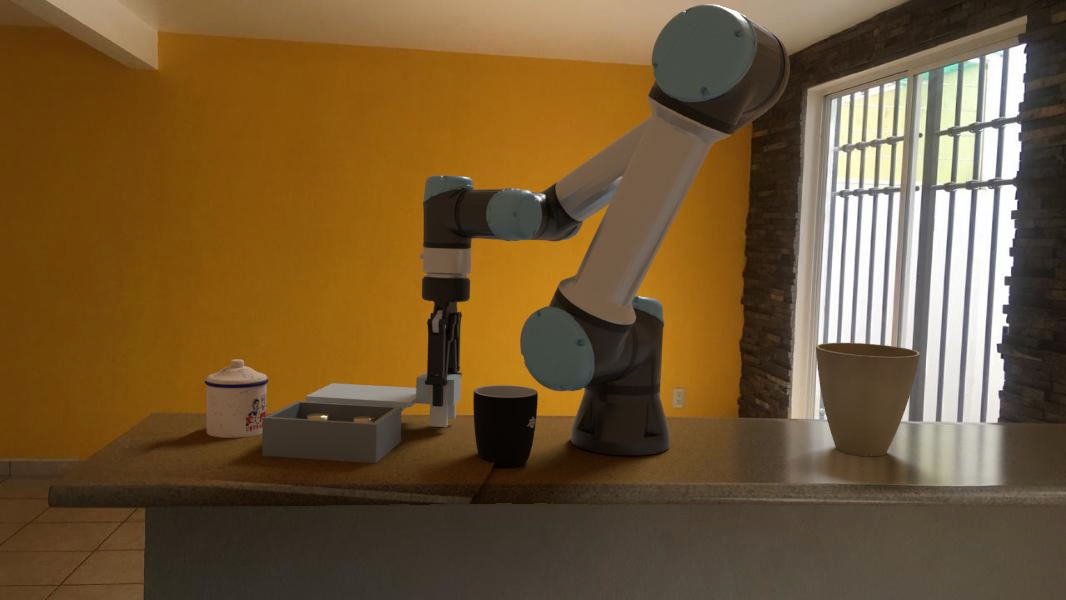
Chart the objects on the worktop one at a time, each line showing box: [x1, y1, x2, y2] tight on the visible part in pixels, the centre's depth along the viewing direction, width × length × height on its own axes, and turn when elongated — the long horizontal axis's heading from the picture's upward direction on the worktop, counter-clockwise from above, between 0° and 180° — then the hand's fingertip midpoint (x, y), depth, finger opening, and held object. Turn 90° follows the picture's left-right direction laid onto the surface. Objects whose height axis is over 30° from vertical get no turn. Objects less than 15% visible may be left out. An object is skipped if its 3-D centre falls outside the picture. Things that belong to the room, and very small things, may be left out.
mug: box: [472, 384, 539, 469], centre depth 122 cm, size 12×9×10 cm
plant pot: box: [815, 342, 921, 457], centre depth 133 cm, size 15×15×16 cm
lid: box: [305, 372, 462, 412], centre depth 138 cm, size 23×12×5 cm, turn 83°
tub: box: [261, 400, 402, 464], centre depth 123 cm, size 16×12×6 cm
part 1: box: [307, 413, 328, 420], centre depth 126 cm, size 3×3×4 cm
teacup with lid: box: [204, 358, 269, 439], centre depth 133 cm, size 12×9×12 cm
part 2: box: [354, 416, 375, 423], centre depth 125 cm, size 3×3×4 cm
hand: (442, 421), depth 137 cm, fingers closed on lid, 5 cm apart
